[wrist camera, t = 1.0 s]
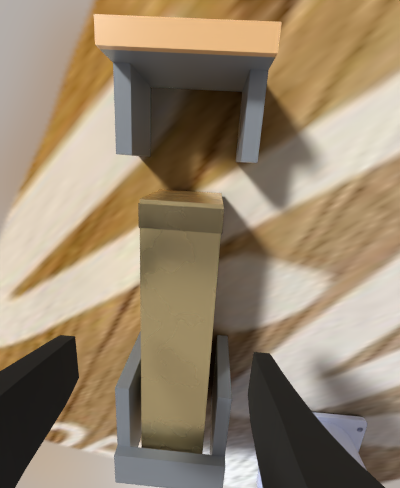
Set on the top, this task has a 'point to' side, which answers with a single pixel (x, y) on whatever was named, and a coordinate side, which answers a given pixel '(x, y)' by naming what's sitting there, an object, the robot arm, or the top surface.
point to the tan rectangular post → (177, 314)
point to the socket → (186, 69)
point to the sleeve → (162, 461)
